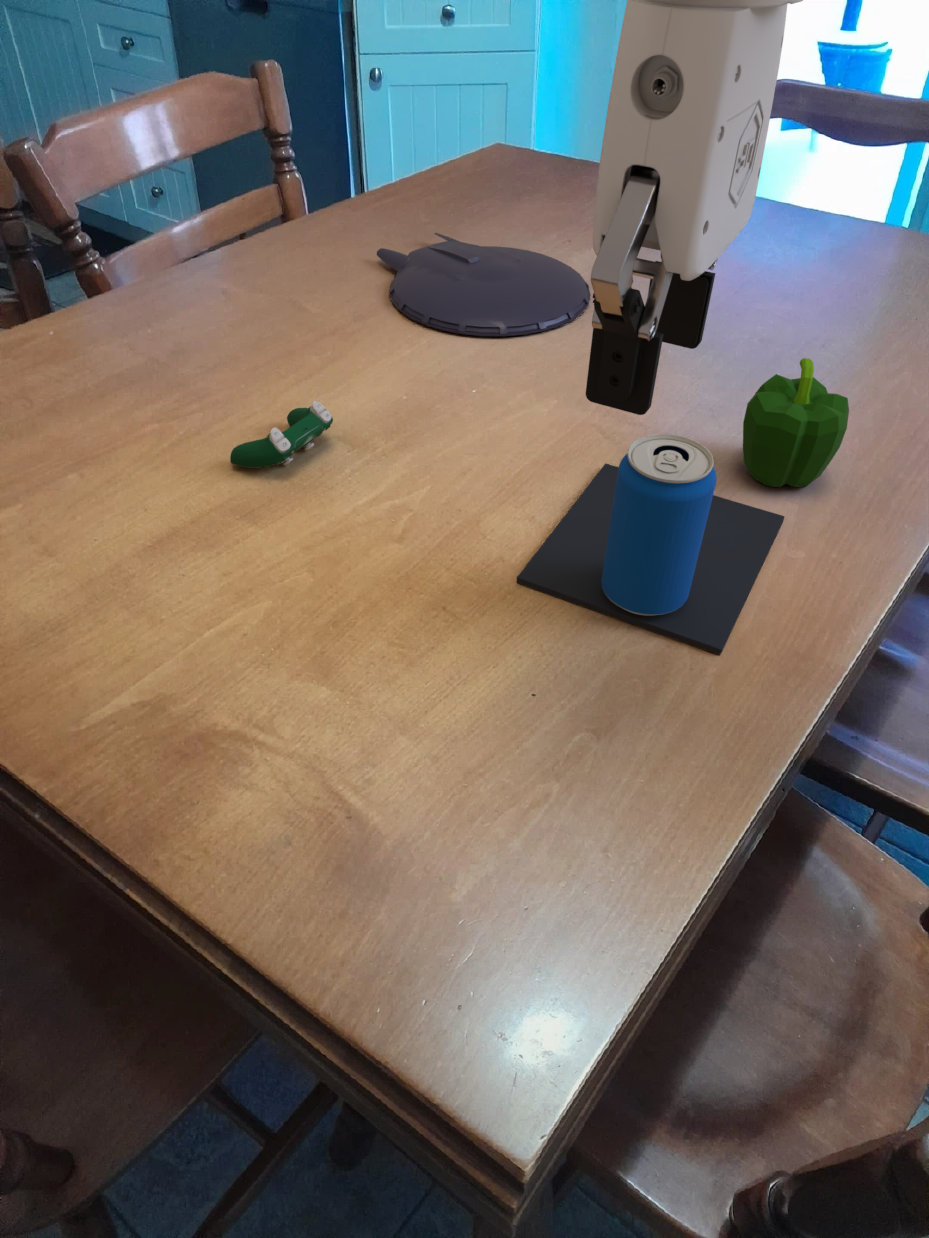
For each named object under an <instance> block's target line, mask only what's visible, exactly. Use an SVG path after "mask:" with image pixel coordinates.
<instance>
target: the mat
mask: <svg viewBox="0 0 929 1238" xmlns="http://www.w3.org/2000/svg"><path fill="white" fill-rule="evenodd" d="M618 468H619V466H616V465H612V464H610V463H606V462H605V463H604V465H602V467H601V468H600V469H599V471H598V472H597V474H595V476H594V477H593V478H592V479H591V481H590V482H589V483H588V485H587V486H586V488H585V489H584V490H583V491H582V492H581V494H580V495H579V497H577V499H576V501H575V502H574V503H573V504H572V506H570V508H569V510H567V512H566V513H565V515H564V516H563V517H562V519H561V520H560V521H559V522H558V524H557V525H556V526H555V527H554V529H553V530H552V531H551V532H550V534H549V535H548V536H547V537H546V539H545V540H544V541H543V543H542V544H541V545H540V547H539V548H538V549H537V551H536V552H535V553H534V555H532V557H531V559H530V560H529V561H528V562H527V564H526V565H525V566H524V567H523V569H522V570H521V571H520V573H519V574H518V575H517V576H516V584H519V585H521V586H524V587H527V588H530V589H533V590H534V591H539V592H541V593H544V594H547V595H548V596H549V595H550V596H552V597H555V598H557V599H559V600H564V601H566V602H569V603H572V604H574V605H578V606H580V607H583V608H586V609H589V610H592V611H594V612H597V613H600V614H603V615H606V616H608V617H611V618H613V619H617V620H619V621H622V622H626V623H627V624H630V625H634V626H637V627H638V628H639V627H640V628H641V629H644V630H648V631H650V632H652V633H653V632H654V633H656V634H659V635H662V636H665V637H667V638H669V639H672V640H676V641H678V642H681V643H684V644H686V645H688V646H689V645H690V646H692V647H695V648H698V649H700V650H704V651H707V652H709V653H712V654H715V655H717V656H721V655H722V653H723V651H724V648H725V646H726V644H727V642H728V640H729V638H730V635H731V633H732V631H733V629H734V627H735V625H736V622H737V621H738V619H739V616H740V614H741V612H742V611H743V608H744V605H745V604H746V601H747V599H748V598H749V595H750V593H751V591H752V589H753V587H754V585H755V582H756V580H757V578H758V576H759V574H760V572H761V569H762V567H763V565H764V563H765V561H766V559H767V557H768V555H769V552H770V551H771V548H772V546H773V544H774V542H775V540H776V538H777V536H778V534H779V531H780V529H781V527H782V525H783V523H784V521H785V516H784V515H782V514H778V513H775V512H772V511H768V510H765V509H761V508H758V507H755V506H751V505H748V504H745V503H741V502H738V501H734V500H731V499H728V498H724V497H722V496H721V497H720V496H718V495H714V494H713V498H712V502H711V506H710V510H709V514H708V518H707V522H706V527H705V531H704V535H703V539H702V543H701V547H700V551H699V555H698V559H697V563H696V568H695V572H694V576H693V580H692V584H691V588H690V592H689V596H688V598H687V600H686V602H685V603H684V604H683V605H682V606H681V607H680V608H678V609H677V610H675V611H672V612H670V613H666V614H661V615H654V616H644V615H638V614H634V613H631V612H628V611H626V610H624V609H623V608H621V607H619V606H617V605H616V604H615V603H613V602H612V601H611V600H610V599H609V598H608V597H607V596H606V594H605V593H604V591H603V588H602V584H601V579H602V573H603V566H604V559H605V553H606V546H607V540H608V533H609V527H610V520H611V514H612V507H613V501H614V494H615V488H616V481H617V475H618Z"/></svg>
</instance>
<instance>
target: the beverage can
mask: <svg viewBox="0 0 929 1238" xmlns="http://www.w3.org/2000/svg"><path fill="white" fill-rule="evenodd" d="M714 462H715V461H714V457H713V454H712V452H711V451H710V450H709V449H708V448H707V447H706V446H705V445H703V444H702V443H700V442H698V441H697V440H695V439H692V438H690V437H687V436H683V435H680V434H672V433H653V434H648V435H645V436H641V437H639V438H637V439H636V440H634V441H633V442H632V443H631V444H630V445H629V447H628V449H627V452H626V454H625V455H623V457H622V458H621V460H620V462H619V464H618V467H619V468H618V475H617V481H616V488H615V494H614V501H613V507H612V514H611V520H610V527H609V533H608V540H607V546H606V553H605V559H604V566H603V573H602V579H601V584H602V588H603V591H604V593H605V594H606V596H607V597H608V598H609V599H610V600H611V601H612V602H613V603H615V604H616V605H617V606H619V607H621V608H623V609H624V610H626V611H628V612H631V613H634V614H638V615H644V616H654V615H661V614H666V613H670V612H672V611H675V610H677V609H678V608H680V607H681V606H682V605H683V604H684V603H685V602H686V600H687V598H688V596H689V592H690V588H691V584H692V580H693V576H694V572H695V568H696V563H697V559H698V555H699V551H700V547H701V543H702V539H703V535H704V531H705V527H706V522H707V518H708V514H709V510H710V506H711V502H712V498H713V495H714V494H715V490H716V484H717V473H716V469H715V467H714V464H715V463H714Z"/></svg>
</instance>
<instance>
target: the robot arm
mask: <svg viewBox="0 0 929 1238" xmlns="http://www.w3.org/2000/svg"><path fill="white" fill-rule="evenodd" d="M803 1H804V0H626V5H625V9H624V14H623V20H622V23H621V29H620V35H619V41H618V46H617V51H616V56H615V62H614V68H613V74H612V80H611V85H610V92H609V98H608V104H607V111H606V118H605V123H604V130H603V135H602V136H603V137H602V144H601V150H600V157H599V166H598V172H597V173H598V174H597V180H596V191H595V200H594V212H593V227H592V248H593V251H594V254H595V255H596V258H595V260H594V262H593V265H592V268H591V272H590V283H591V288H592V291H593V294H592V299H593V300H592V303H593V313H592V316H591V326H592V334H591V335H592V336H591V344H590V353H589V361H588V370H587V379H586V387H585V397H586V400H588V401H589V402H591V403H594V404H597V405H602V406H605V407H608V408H612V409H616V410H618V411H619V410H620V411H623V412H627V413H630V414H634V415H637V416H643V415H646V413H648V411H649V410H650V409H651V407H652V402H653V396H654V391H655V385H656V380H657V374H658V368H659V363H660V357H661V351H662V345H663V343H666V344H669V345H672V346H673V345H674V346H679V347H682V348H686V349H689V350H690V349H691V350H694V349H696V348H698V347H699V345H700V344H701V342H702V341H703V336H704V331H705V326H706V320H707V315H708V313H709V307H710V302H711V298H712V293H713V288H714V283H715V279H716V274H717V273H716V272H711V271H713V270H715V267H716V265H717V262H718V259H719V258H720V257H721V255H722V254H723V253H724V252H725V251H726V250H727V249H728V247H729V246H730V245H731V244H732V243H733V242H734V241H735V239H736V238H737V237H738V236H739V235H740V233H741V232H742V231H743V230H744V229H745V227H746V226H747V224H748V222H749V221H750V218H751V216H752V213H753V210H754V206H755V201H756V196H757V190H758V186H759V180H760V175H761V170H762V166H763V165H762V163H763V159H764V152H765V148H766V143H767V137H768V131H769V126H770V120H771V115H772V110H773V105H774V99H775V93H776V86H777V81H778V76H779V70H780V64H781V62H780V61H781V58H782V57H781V56H782V49H783V44H784V37H785V29H786V22H787V21H786V20H787V12H788V5H789V4H790V5H794V4H797V3H801V2H803ZM642 248H646V249H651V250H654V251H660V261H659V260H655V261H653V260H648V259H643V258H639V257H638V256H639V254H640V251H641V249H642ZM707 270H710V271H707ZM633 276H635V277H640V278H646V279H649V285H648V292H647V297H646V301H645V303H644V300H643V296H642V294H641V290H639V289H637V288H632V287H633V283H634V277H633Z"/></svg>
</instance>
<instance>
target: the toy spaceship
mask: <svg viewBox="0 0 929 1238" xmlns="http://www.w3.org/2000/svg"><path fill="white" fill-rule="evenodd" d="M434 235H436V236H437V237H439V238H441V239H443V240H444V241H441V242H437V243H433V244H430V245H426V246H423V247H421V248H417V249H414V250H412V251H410V252H409V253H408V254H405V253H403V252H399V251H396V250H393V249H389V248H384V247H383V248H382V247H381V248H379V249H377V251H376V256H377V257H378V258H379V259H380V260H381V261H382V262H383V263H385V265H387V266H388V267H390V268H391V269H393V270H395V271H397V272H396V273H395V275H394V277H393V279H392V281H391V283H390V285H389V289H388V290H389V291H388V293H389V294H388V295H389V297H390V300H391V303H392V305H394V306H395V308H396V309H397V310H398V311H399V312H401V313H402V314H403V315H404V316H406V317H407V318H409V319H410V320H413V321H415V322H418V323H419V324H420V325H421V324H422V325H423V326H427V327H430V328H433V329H436V330H440V331H442V332H443V331H444V332H449V333H454V334H459V335H465V336H466V335H467V336H476V337H477V336H479V337H508V336H509V337H511V336H513V337H514V336H522V335H523V336H525V335H530V334H535V333H541V332H545V331H549V330H552V329H555V328H558V327H561V326H563V325H565V324H567V323H569V322H572V321H574V320H575V319H576V318H578V317H579V316H580V315H581V314H583V313H584V311H585V310H586V309H587V307H588V306H589V305H590V300H591V291H590V285H589V284H588V283H587V282H586V280H585V278H583V276H582V275H581V273H579V272H578V271H576V269H574V268H573V267H572V266H570V265H568V264H566V263H564V262H562V261H561V260H559V259H556V258H554V257H551V256H549V255H546V254H543V253H539V252H535V251H533V250H532V251H531V250H529V249H528V250H527V249H522V248H517V247H509V246H508V247H507V246H495V245H494V246H492V245H491V246H489V245H488V246H487V245H477V244H472V243H467V242H463V241H460V240H457V239H455V238H453V237H450V236H447V235H444V234H441V233H438V232H435V233H434Z"/></svg>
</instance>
